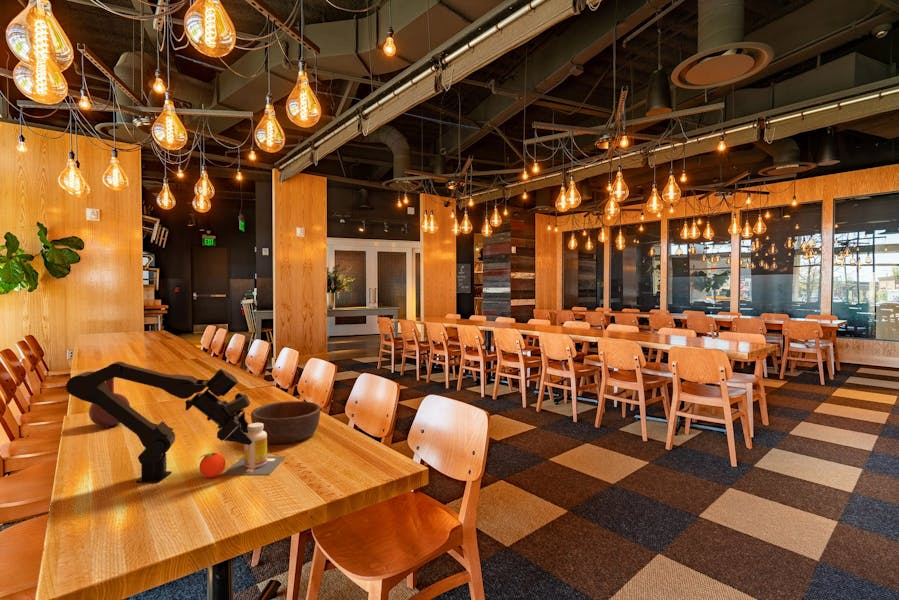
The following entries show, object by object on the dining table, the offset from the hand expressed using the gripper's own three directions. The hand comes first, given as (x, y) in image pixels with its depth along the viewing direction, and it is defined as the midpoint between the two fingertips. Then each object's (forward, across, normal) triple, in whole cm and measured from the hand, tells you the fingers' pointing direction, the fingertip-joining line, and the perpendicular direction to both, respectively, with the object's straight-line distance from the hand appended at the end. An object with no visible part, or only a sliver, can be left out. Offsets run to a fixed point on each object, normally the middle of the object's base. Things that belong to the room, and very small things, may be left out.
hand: (252, 438), depth 136 cm
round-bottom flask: (-34, +61, +46) cm, 84 cm away
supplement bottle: (+7, 0, +6) cm, 9 cm away
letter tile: (+7, 0, +6) cm, 9 cm away
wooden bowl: (+14, +26, -1) cm, 30 cm away
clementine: (-2, -4, +14) cm, 15 cm away
